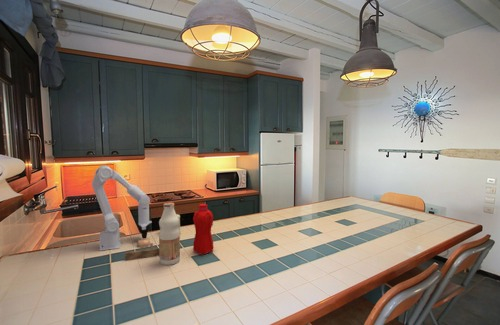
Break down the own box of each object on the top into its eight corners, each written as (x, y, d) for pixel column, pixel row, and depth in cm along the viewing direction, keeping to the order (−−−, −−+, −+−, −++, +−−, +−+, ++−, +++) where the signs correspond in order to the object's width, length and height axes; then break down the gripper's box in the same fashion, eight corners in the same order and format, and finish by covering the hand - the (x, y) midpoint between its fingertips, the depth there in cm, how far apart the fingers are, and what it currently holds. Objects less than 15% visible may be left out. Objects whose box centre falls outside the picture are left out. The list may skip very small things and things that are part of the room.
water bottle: (218, 249, 135) (218, 203, 133) (201, 256, 127) (201, 207, 125) (207, 245, 142) (207, 200, 140) (190, 251, 134) (190, 204, 132)
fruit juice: (160, 267, 116) (159, 206, 114) (158, 258, 124) (157, 202, 122) (181, 263, 120) (181, 204, 118) (178, 255, 129) (177, 200, 126)
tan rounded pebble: (138, 248, 136) (137, 243, 136) (138, 244, 142) (138, 239, 142) (150, 246, 139) (149, 241, 138) (150, 242, 144) (149, 237, 144)
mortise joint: (125, 260, 122) (125, 253, 122) (126, 253, 130) (126, 246, 130) (160, 255, 128) (160, 248, 128) (160, 248, 136) (159, 242, 136)
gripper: (151, 217, 141) (151, 241, 142) (151, 211, 155) (151, 232, 156) (137, 218, 138) (138, 243, 140) (138, 212, 152) (139, 234, 153)
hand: (144, 237), depth 147 cm, fingers closed
